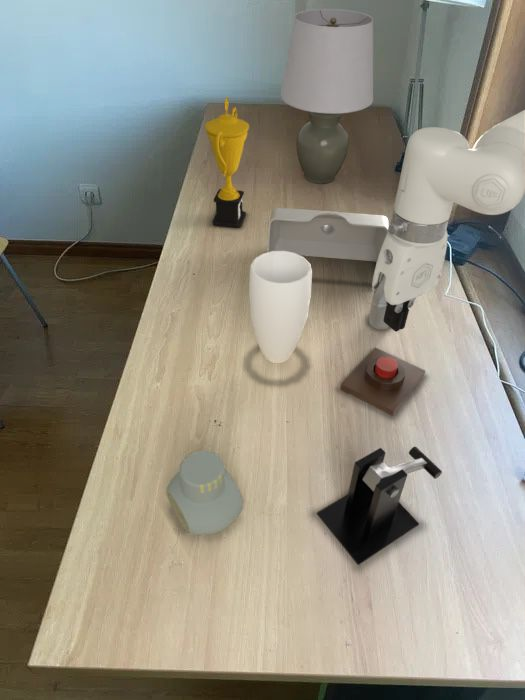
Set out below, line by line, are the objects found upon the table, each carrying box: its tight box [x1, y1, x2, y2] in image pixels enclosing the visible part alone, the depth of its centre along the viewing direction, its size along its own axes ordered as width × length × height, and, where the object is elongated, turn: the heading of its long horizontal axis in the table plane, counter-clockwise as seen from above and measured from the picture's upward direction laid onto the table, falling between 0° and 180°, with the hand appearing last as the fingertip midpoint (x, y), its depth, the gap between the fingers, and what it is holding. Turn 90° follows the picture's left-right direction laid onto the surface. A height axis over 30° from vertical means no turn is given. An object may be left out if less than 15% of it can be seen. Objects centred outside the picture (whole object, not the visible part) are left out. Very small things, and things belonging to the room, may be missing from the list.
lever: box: [363, 446, 443, 491], centre depth 75 cm, size 12×5×2 cm, turn 123°
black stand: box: [316, 447, 420, 566], centre depth 75 cm, size 11×9×13 cm
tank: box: [266, 207, 390, 263], centre depth 123 cm, size 25×16×12 cm, turn 83°
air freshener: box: [165, 449, 244, 536], centre depth 77 cm, size 11×8×10 cm
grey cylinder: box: [368, 291, 390, 330], centre depth 108 cm, size 4×4×10 cm
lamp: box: [279, 8, 374, 185], centre depth 147 cm, size 24×24×40 cm
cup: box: [248, 251, 313, 364], centre depth 95 cm, size 10×10×22 cm
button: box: [375, 357, 398, 379], centre depth 96 cm, size 4×4×2 cm
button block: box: [340, 347, 426, 417], centre depth 98 cm, size 12×10×4 cm
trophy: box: [204, 96, 250, 229], centre depth 130 cm, size 19×10×30 cm, turn 170°
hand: (393, 325), depth 90 cm, fingers closed
